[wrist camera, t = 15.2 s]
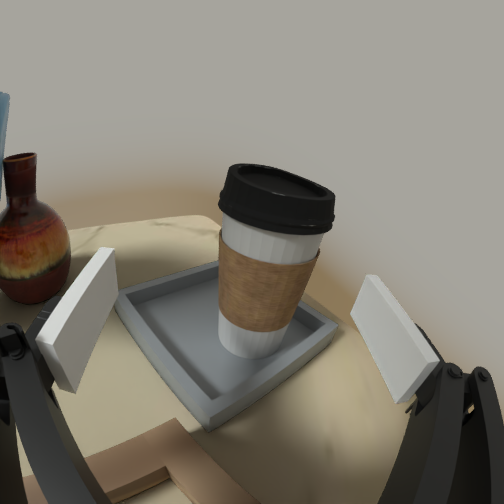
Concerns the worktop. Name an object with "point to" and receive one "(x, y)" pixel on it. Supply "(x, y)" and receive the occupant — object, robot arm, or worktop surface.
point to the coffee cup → (266, 253)
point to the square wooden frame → (157, 469)
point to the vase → (30, 237)
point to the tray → (211, 344)
